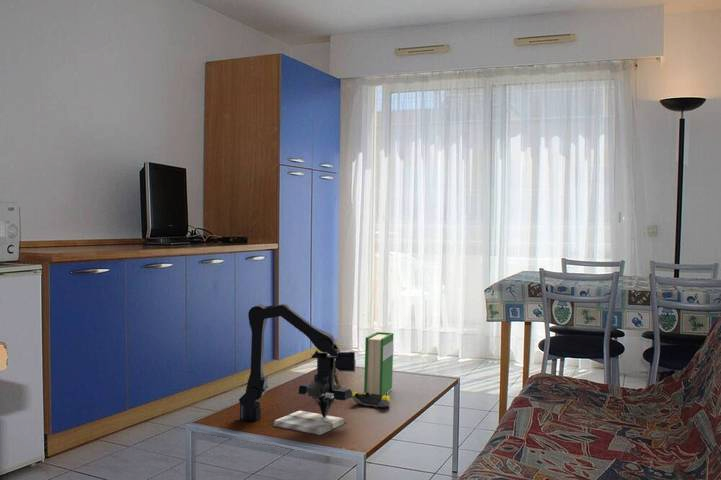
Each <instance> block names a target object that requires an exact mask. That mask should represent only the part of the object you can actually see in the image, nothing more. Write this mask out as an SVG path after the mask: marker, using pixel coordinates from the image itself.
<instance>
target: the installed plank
mask: <svg viewBox="0 0 721 480" xmlns="http://www.w3.org/2000/svg"><path fill="white" fill-rule="evenodd" d="M275 426H276V427H277V426H278V427H277V428H281V427H283V428H282V429H286V428H288V429H287V430H291V429H293V430H292V431H296V430H298V431H297V432H301V431H303V432H302V433H306V432H308V434H312V433H314V434H313V435H316V434H317V435H318V434H319V435H318V436H322V435H321V434H323V435H324V433H325V434H326V432H327V431H329V432H331V431H333V430H332V424H329V423H323V422H318V421H313V420H307V419H302V418H296V417H291V416H288V415H285V416H283V417H280V418H278V419H274V424H273V427H275ZM330 430H331V431H330ZM327 433H328V432H327Z"/></svg>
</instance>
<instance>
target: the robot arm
mask: <svg viewBox="0 0 721 480" xmlns="http://www.w3.org/2000/svg"><path fill="white" fill-rule="evenodd" d="M247 314H248V315H247V317H248V322H249V327H250V330H251V342H250V343H251V344H250V345H251V347H250V348H251V349H250V350H251V351H250V352H251V353H250V373H249V377H248V379H247V383H246V389H245V392H244V394H243V395H242V396H240V398H239V399H238V401H239V402H238V403H239V417H238V421H242V422H246V423H247V422H248V423H254V422H257V421H260V420H262V419H263V417H261V412H262V407H261V403H260V402H259V400H260V399H261V397H263V396H264V394H265V393H266V391H267V389H269V385H268V382H269V381H268V380H269V376H268V375H267V376H265V373H264V370H263V369H264V346H265V345H264V342H265V329H266V325H267V322H268V319H272V318H277V317H281V318H283V319H284V320H285V321H286V322H288V323H289V324H290V325H291V326H293V327H294V328H296V329H297V330H298V331H299V332H300V333H302V334H304V335H305V336H306V337H307V338H308V340H310V342H311V343H312V344H313V346H314V347H316V350H315V352H314V353H313V354H312V355H311V358H312V359H316V364H317V365H316V374H314V377H313V380H312V381H311V382H310V383H308V382H306V383H303V384H300V385H299V386H298V389H297V394H298V395H303V396H304V395H306V394H307V396H308V397H311V399H313V398H314V399H313V400H315V401H316V402H317V404H318V406H319V409H320V412H321V413H320V414H322V416H323V417H326V416H327V415H328V413H329V411H330V408H331V406H332V405H333V403H334V402H333V401H334V399H336V400H339V401H347V400H349V399H352V393H353V392H352V389H351V388H345V387H344V388H343V387H341V389H338V390H333V389H335V385H333V377H335V375H336V373H337V372H336V373H334V359H335V368H336V371H338V372H343V373H344V372H346V373H349V372H350V373H351V372H352V373H355V372H356V353H355V351H353V350H352V351H341V350H340V348H339V347H338V346H337V344H336V343H335V342H336V341H335V337H334V335H332V334H330V333H329V332H327V331H325V330H323V329H321V328H318V327H317V326H314V325H313V324H312V323H310V322H309V321H308V320H307V319H305V318H304V317H303V316H301V315H300V314H298V312H296V311H295V310H293V309H292V308H290V306H289V305H288V304H286V303H282V304H278V305H277V304H276V305H267V306H266V305H264V304H261V303H260V304H257V305H254V306H252V307H251V308H250V309H249V311H248V313H247Z"/></svg>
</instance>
